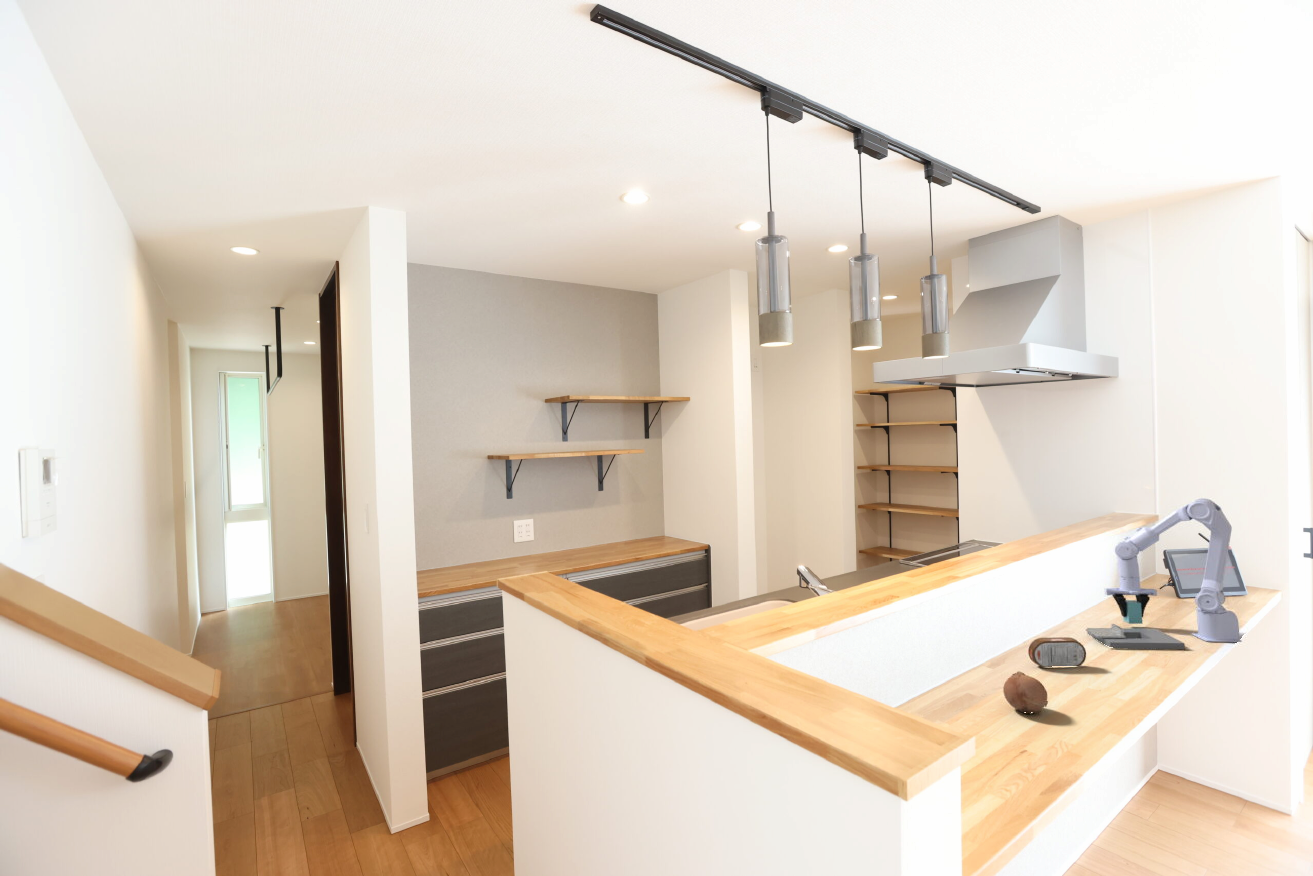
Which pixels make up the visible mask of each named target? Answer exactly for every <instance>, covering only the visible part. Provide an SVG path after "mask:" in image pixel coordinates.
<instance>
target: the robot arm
mask: <svg viewBox="0 0 1313 876" xmlns="http://www.w3.org/2000/svg"><path fill="white" fill-rule="evenodd" d="M1191 520H1194V521H1196V522H1199V523H1200V524H1202V525H1203V526H1204V527H1205V528H1207V529H1208V530H1209V531H1210V535H1209V536H1210V538H1209V542H1208V549H1207V555H1206V562H1205V568H1204V574H1203V579H1202V583H1201V586H1200V591H1199V592H1197V594H1196V595H1195V598H1194V602H1195V604H1196V608H1195V609H1196V623H1197V632H1191V635H1192V636H1194V637H1196V638H1199V639H1200V640H1203V641H1204V642H1208V643H1210V642H1215V643H1217V642H1218V643H1220V642H1221V643H1242V639H1241V637H1240V626H1239V619H1238V616H1237V615H1236V613H1235V612H1233V611H1232V610H1227V609H1226V607H1225V606H1224V605H1223V604H1224V603H1225V601H1226V595H1225V593H1224V579H1225V571H1226V566H1227V565H1226V564H1227V561H1228V560H1227V559H1228V553H1229V548H1230V547H1229V546H1230V541H1231V535H1232V531H1233V530H1232V525H1231V523H1230V522H1229V520H1228V518H1227V517H1226V515H1225V513H1224V512H1223V510H1222V508H1221V507H1220V505H1218V504H1217V503H1215V502H1214V501H1213V500H1211V499H1209V498H1198V499H1195V500H1194V501H1191V503H1189V504H1186V505H1183V506H1182V507H1179V508H1177V509H1176V510H1174V511H1172V512H1171V513H1170V514H1168V515H1167V516H1166V517H1164V518H1162V519H1161V520H1160V521H1158V522H1157V523H1156V524H1154V525H1153V526H1152V527H1150V526H1144V527H1142V528H1141V527H1138V528H1136V532H1134V533H1133V534H1131V535H1129V536H1125V537H1124V540H1123V541H1121V542H1118V543H1117V545H1116V546H1114V553H1115V555H1116V556H1117V571H1118V582H1119V585H1118V586H1119V587H1113V588H1112V587H1111V588H1104V595H1106V596H1112V598H1113V599H1114V601H1115V602H1116V604H1117V606H1118V609H1119V611H1120V614H1121V616H1122V618H1123V617H1126V600H1127V598H1126V597H1125V596H1135V600H1136V601H1138V602H1140V603H1141V610H1142V618H1144V613H1145V610H1146V607H1147V605H1148V603H1149V601H1150V596H1153V597H1156V596H1158V593H1157V589H1154V588H1141V580H1140V577H1141V576H1140V568H1139V560H1138V555H1139V553H1140V552H1143V551H1145V550H1147V549H1148V548H1150V547H1151V546H1153V545H1155V544H1156V543H1157V542H1159V541H1160V535H1161V534H1162V533H1165V532H1166V531H1167V530H1169V529H1171V528H1172V527H1174V526H1175V525H1177V524H1178V523H1181V522H1186V521H1191Z"/></svg>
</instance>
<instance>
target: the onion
mask: <svg viewBox="0 0 1313 876" xmlns="http://www.w3.org/2000/svg"><path fill="white" fill-rule="evenodd" d="M1003 695H1004V697H1005V699H1006V701H1007V702H1008V704H1009V705H1010V706H1011V707H1013V708H1014V709H1015V710H1017V711H1019V710H1020V711H1019V712H1021V711H1023V712H1026V713H1025V714H1027V713H1031V712H1037V711H1040V712H1041V710H1042V709H1044V708H1047V707H1048V706H1047V705H1048V703H1049V701H1048V691H1047V690H1046V688H1045V685H1044V684H1043V683H1041V681H1039V680H1038V679H1037V678H1035V677H1033V676H1029V675H1027V674H1025V673H1024V672H1021V671H1017V672H1015V673H1012V675H1011V676H1009V677H1007V679H1006V681H1005V682H1004V684H1003ZM1023 712H1022V713H1023ZM1037 713H1038V712H1037Z"/></svg>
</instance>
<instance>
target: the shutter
mask: <svg viewBox="0 0 1313 876" xmlns="http://www.w3.org/2000/svg"><path fill="white" fill-rule="evenodd" d="M1111 628H1112V629H1087V628H1086V629H1085V631H1086V633H1087V632H1089V633H1090V634H1092V635H1094V636H1095V637H1097V638H1126V637H1125V636H1124V631H1123V629H1122V628H1123V627H1121V626H1119V625H1117V624H1115V623H1111Z"/></svg>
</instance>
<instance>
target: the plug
mask: <svg viewBox="0 0 1313 876" xmlns="http://www.w3.org/2000/svg"><path fill="white" fill-rule="evenodd" d="M1122 621H1123V622H1125V623H1126V624H1129V625H1130V624H1131V625H1133V624H1136V625H1137V624H1138V625H1140V624H1141V625H1143V617H1142V610H1141V603H1140V602H1138V601H1137V600H1136V599H1135V600H1134V599H1131V600H1129V599H1126V617H1123V616H1122Z"/></svg>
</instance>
